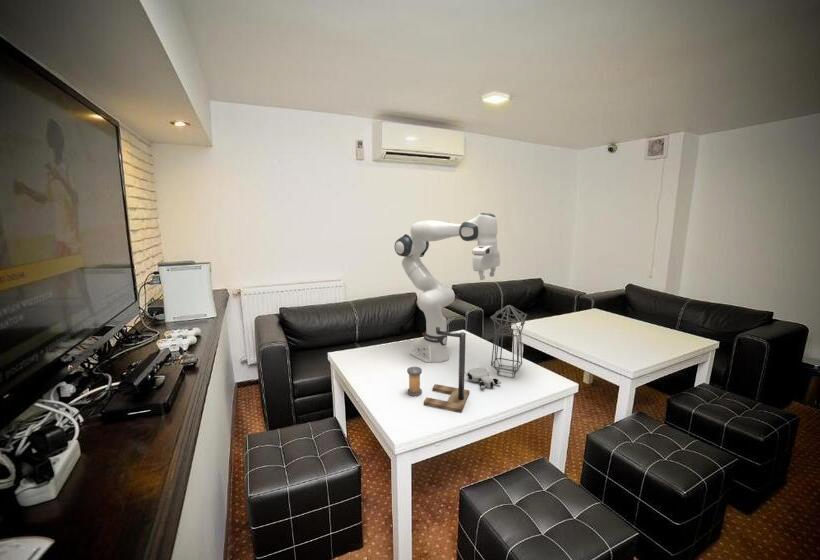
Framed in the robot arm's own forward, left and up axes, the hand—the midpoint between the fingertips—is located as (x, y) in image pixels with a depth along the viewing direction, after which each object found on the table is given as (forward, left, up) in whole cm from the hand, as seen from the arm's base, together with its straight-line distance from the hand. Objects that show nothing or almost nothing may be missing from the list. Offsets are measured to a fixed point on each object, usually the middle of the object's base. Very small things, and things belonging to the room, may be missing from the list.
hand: (487, 278), depth 157 cm
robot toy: (+4, -8, -49) cm, 50 cm away
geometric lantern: (+8, +10, -49) cm, 50 cm away
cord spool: (-15, -36, -49) cm, 62 cm away
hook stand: (0, -30, -47) cm, 56 cm away
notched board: (-1, -30, -49) cm, 58 cm away
